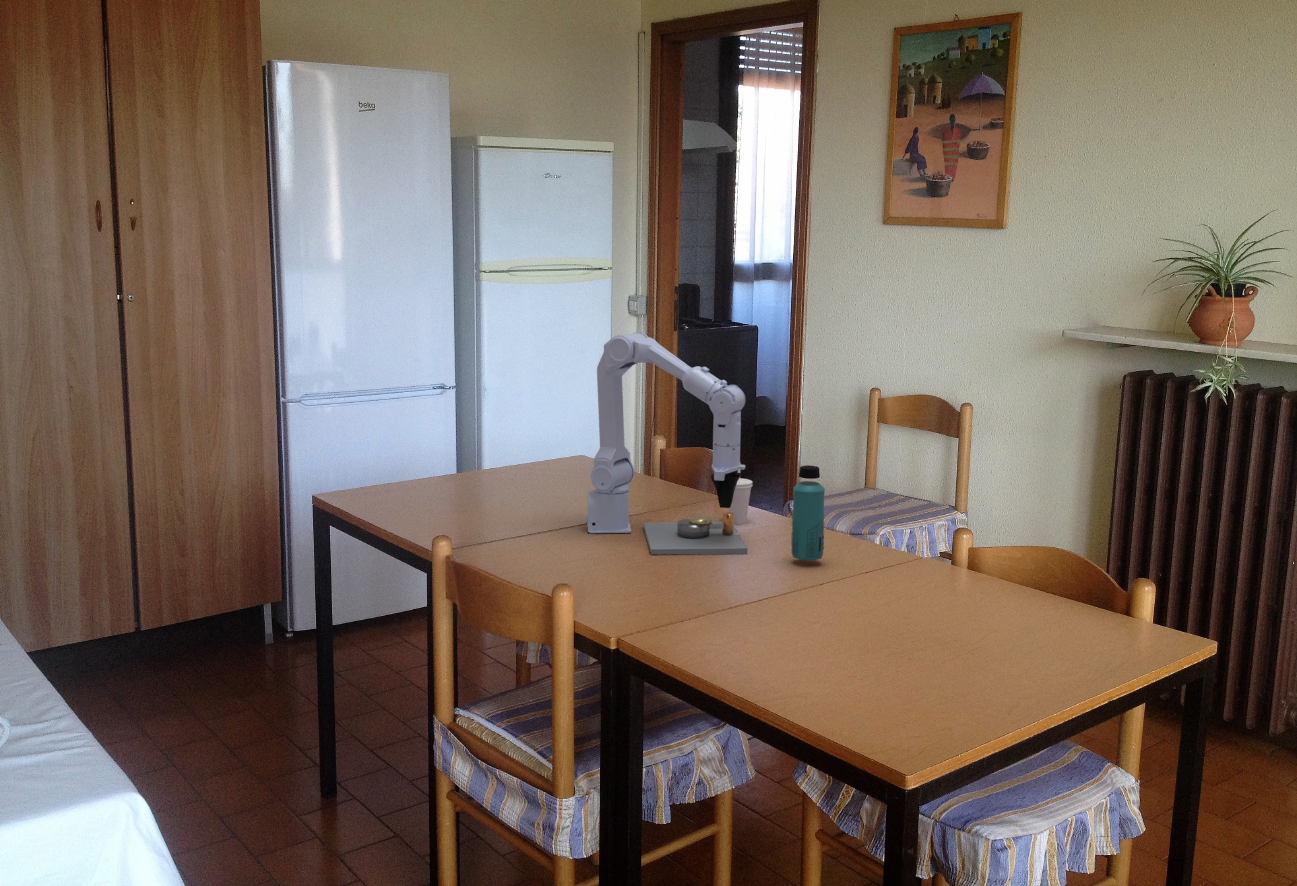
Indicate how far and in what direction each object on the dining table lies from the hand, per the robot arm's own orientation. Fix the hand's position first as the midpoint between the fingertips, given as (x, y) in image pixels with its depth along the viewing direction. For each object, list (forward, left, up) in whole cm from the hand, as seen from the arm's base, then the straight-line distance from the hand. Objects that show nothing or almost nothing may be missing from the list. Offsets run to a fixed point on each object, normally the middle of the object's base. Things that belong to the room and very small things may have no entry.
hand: (725, 507), depth 245 cm
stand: (-6, +4, -8) cm, 11 cm away
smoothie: (+6, +19, -9) cm, 22 cm away
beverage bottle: (+15, -14, -9) cm, 22 cm away
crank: (-4, +4, -7) cm, 9 cm away
